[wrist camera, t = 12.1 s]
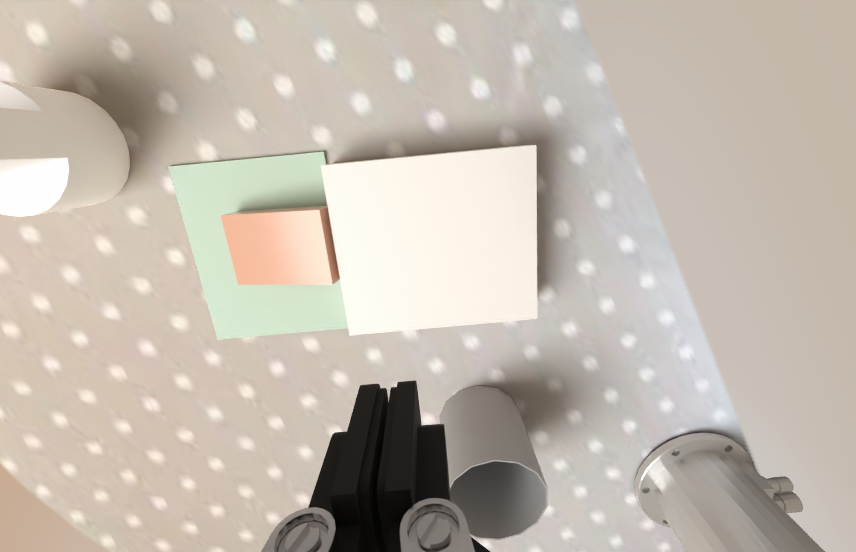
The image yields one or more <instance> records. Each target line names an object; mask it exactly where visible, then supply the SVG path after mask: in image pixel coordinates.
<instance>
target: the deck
mask: <svg viewBox="0 0 856 552" xmlns="http://www.w3.org/2000/svg"><path fill="white" fill-rule="evenodd" d="M321 171H322V177H323V183H324V188H325V194H326V200H327V206H328V212H329V218H330V224H331V230H332V235H333V241H334V247H335V253H336V259H337V265H338V271H339V276H340V282H341V288H342V294H343V300H344V306H345V312H346V318H347V323H348V329H349V335H359V334H371V333H382V332H393V331H404V330H416V329H427V328H438V327H450V326H461V325H472V324H483V323H495V322H506V321H517V320H528V319H537V155H536V145H520V146H509V147H499V148H488V149H478V150H468V151H457V152H447V153H436V154H426V155H415V156H405V157H395V158H384V159H374V160H363V161H353V162H343V163H332V164H327V165H321Z"/></svg>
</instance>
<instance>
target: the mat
mask: <svg viewBox="0 0 856 552" xmlns="http://www.w3.org/2000/svg"><path fill="white" fill-rule="evenodd" d="M321 165H327V164H326V158H325V152H314V153H304V154H294V155H283V156H273V157H263V158H252V159H242V160H232V161H221V162H211V163H201V164H190V165H180V166H169V167H168V169H169V172H170V176H171V179H172V183H173V186H174V190H175V193H176V197H177V200H178V204H179V207H180V210H181V214H182V217H183V221H184V224H185V228H186V231H187V235H188V238H189V242H190V245H191V249H192V252H193V256H194V259H195V263H196V266H197V270H198V273H199V277H200V280H201V284H202V287H203V290H204V294H205V297H206V301H207V304H208V308H209V311H210V315H211V318H212V322H213V325H214V329H215V332H216V336H217V339H218V340H219V339H230V338H242V337H253V336H264V335H275V334H286V333H298V332H309V331H320V330H331V329H343V328H348V323H347V318H346V312H345V306H344V300H343V294H342V288H341V282H340V280H338V281H337V282H336V283H334V284H333V285H238V282H237V278H236V274H235V270H234V266H233V262H232V259H231V255H230V251H229V247H228V243H227V239H226V235H225V231H224V227H223V223H222V220H221V216H220V215H224V214H228V213H232V212H236V211H249V210H266V209H283V208H299V207H316V206H327V200H326V194H325V188H324V183H323V177H322V171H321Z"/></svg>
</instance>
